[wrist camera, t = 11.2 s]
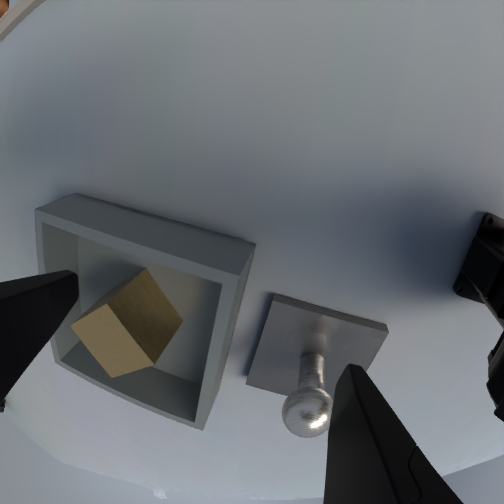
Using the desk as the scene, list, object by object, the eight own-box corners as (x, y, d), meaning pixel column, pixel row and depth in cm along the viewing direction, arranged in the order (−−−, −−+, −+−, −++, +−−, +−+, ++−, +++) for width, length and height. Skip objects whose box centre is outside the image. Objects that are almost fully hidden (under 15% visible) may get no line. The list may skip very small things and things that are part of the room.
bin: (255, 244, 22) (239, 276, 17) (218, 391, 28) (202, 430, 24) (76, 193, 23) (34, 209, 19) (82, 335, 29) (55, 362, 25)
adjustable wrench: (-31, 82, 22) (-41, 83, 20) (-29, 41, 19) (-39, 41, 18) (120, -31, 16) (108, -38, 14) (120, -74, 13) (110, -82, 12)
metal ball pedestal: (386, 324, 22) (405, 401, 15) (342, 400, 26) (341, 472, 18) (274, 293, 23) (254, 367, 16) (247, 376, 27) (225, 448, 19)
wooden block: (146, 267, 24) (106, 303, 18) (183, 320, 25) (154, 364, 20) (107, 291, 25) (69, 325, 20) (142, 338, 27) (111, 377, 21)
